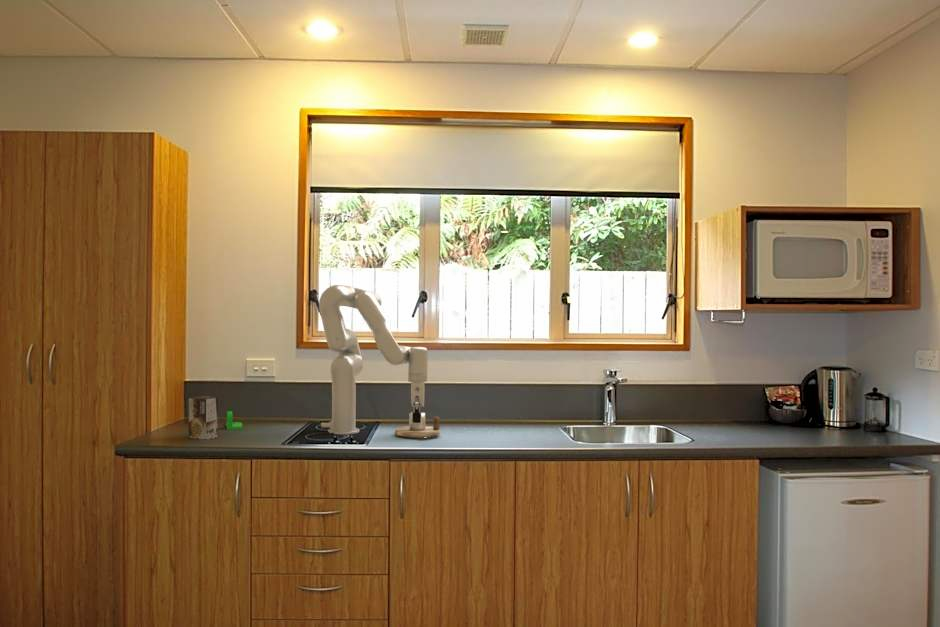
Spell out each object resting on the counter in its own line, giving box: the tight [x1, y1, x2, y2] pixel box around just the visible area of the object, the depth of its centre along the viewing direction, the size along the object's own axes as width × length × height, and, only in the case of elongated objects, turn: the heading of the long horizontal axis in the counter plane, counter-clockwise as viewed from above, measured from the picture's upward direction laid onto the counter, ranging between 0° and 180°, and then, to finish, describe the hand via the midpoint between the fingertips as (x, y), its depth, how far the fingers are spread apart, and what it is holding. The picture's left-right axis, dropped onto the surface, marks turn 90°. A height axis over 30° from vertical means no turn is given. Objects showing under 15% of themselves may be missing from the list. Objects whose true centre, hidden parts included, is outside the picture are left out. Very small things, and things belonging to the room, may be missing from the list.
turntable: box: [394, 416, 441, 438], centre depth 285 cm, size 18×18×6 cm
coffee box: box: [188, 395, 219, 440], centre depth 274 cm, size 9×6×16 cm
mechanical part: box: [225, 411, 244, 430], centre depth 299 cm, size 12×6×8 cm, turn 21°
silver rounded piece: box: [408, 411, 426, 431], centre depth 284 cm, size 6×6×7 cm
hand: (416, 420), depth 285 cm, fingers open, 9 cm apart
